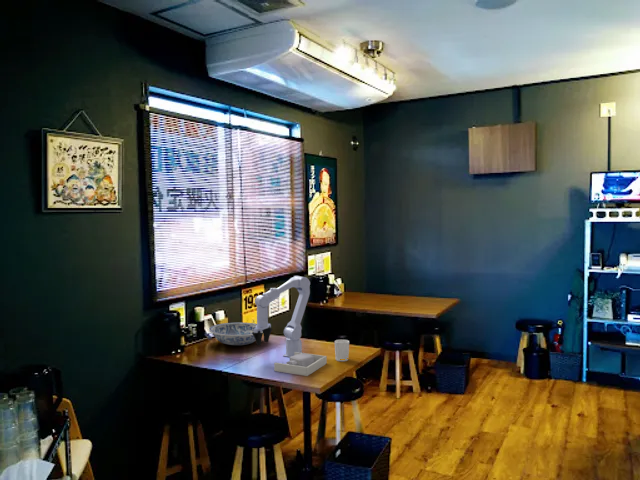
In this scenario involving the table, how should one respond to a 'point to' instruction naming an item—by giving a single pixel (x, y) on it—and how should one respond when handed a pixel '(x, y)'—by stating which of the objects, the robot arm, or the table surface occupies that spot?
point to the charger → (301, 360)
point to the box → (301, 370)
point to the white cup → (341, 349)
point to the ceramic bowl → (234, 333)
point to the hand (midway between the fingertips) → (262, 343)
